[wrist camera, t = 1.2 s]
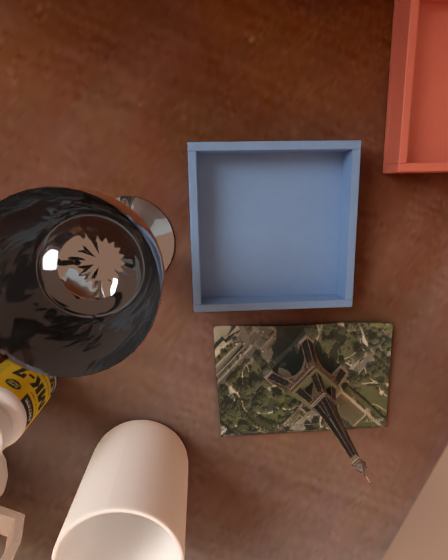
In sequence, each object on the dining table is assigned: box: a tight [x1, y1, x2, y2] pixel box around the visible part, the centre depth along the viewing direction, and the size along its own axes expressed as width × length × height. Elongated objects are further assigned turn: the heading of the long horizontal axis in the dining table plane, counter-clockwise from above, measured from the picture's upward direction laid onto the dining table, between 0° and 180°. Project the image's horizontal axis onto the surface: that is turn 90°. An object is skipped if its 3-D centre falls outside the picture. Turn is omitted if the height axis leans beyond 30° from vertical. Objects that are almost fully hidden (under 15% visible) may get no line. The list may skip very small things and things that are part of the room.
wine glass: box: [0, 186, 175, 377], centre depth 23 cm, size 8×8×15 cm
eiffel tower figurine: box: [213, 323, 393, 484], centre depth 27 cm, size 15×10×13 cm
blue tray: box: [187, 140, 361, 312], centre depth 29 cm, size 12×12×2 cm
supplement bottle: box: [0, 359, 56, 453], centre depth 28 cm, size 5×5×8 cm
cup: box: [52, 420, 188, 560], centre depth 30 cm, size 8×12×10 cm
